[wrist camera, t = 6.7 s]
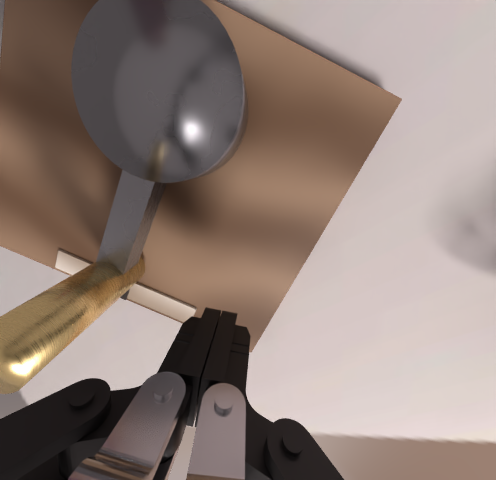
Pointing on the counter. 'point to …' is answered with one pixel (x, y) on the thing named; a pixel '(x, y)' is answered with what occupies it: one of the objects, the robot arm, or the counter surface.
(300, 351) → the counter surface
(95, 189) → the wooden cutting board
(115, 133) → the grey and gold piece
